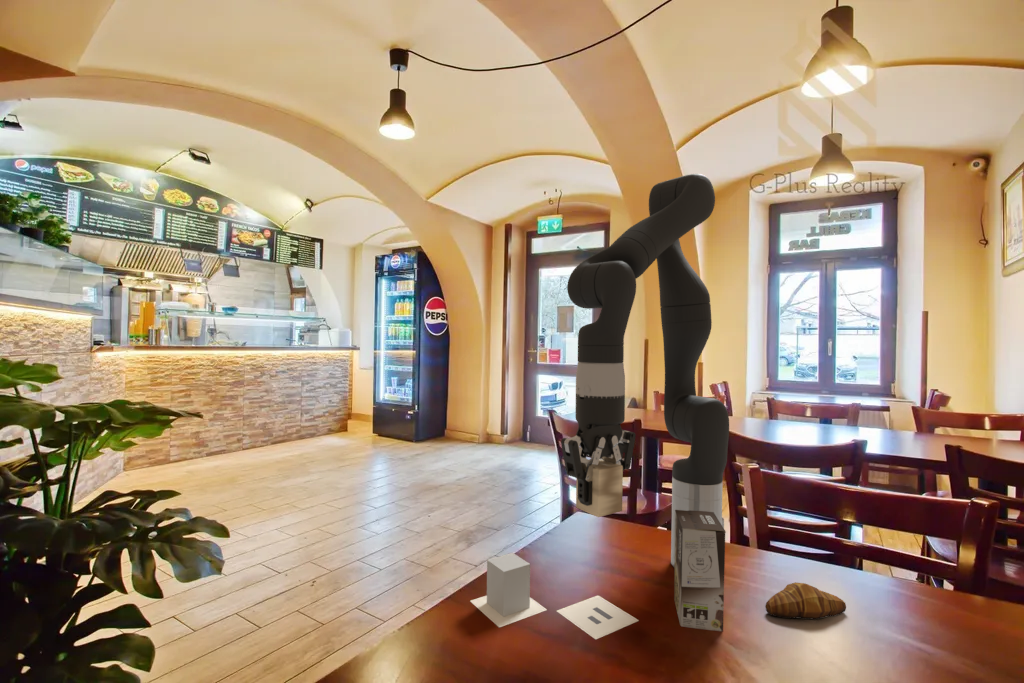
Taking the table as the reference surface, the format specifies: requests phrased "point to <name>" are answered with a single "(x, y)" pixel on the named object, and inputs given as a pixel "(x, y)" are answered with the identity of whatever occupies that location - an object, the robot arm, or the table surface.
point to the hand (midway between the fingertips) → (598, 500)
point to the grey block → (508, 584)
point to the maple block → (604, 489)
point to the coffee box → (699, 569)
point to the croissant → (804, 603)
